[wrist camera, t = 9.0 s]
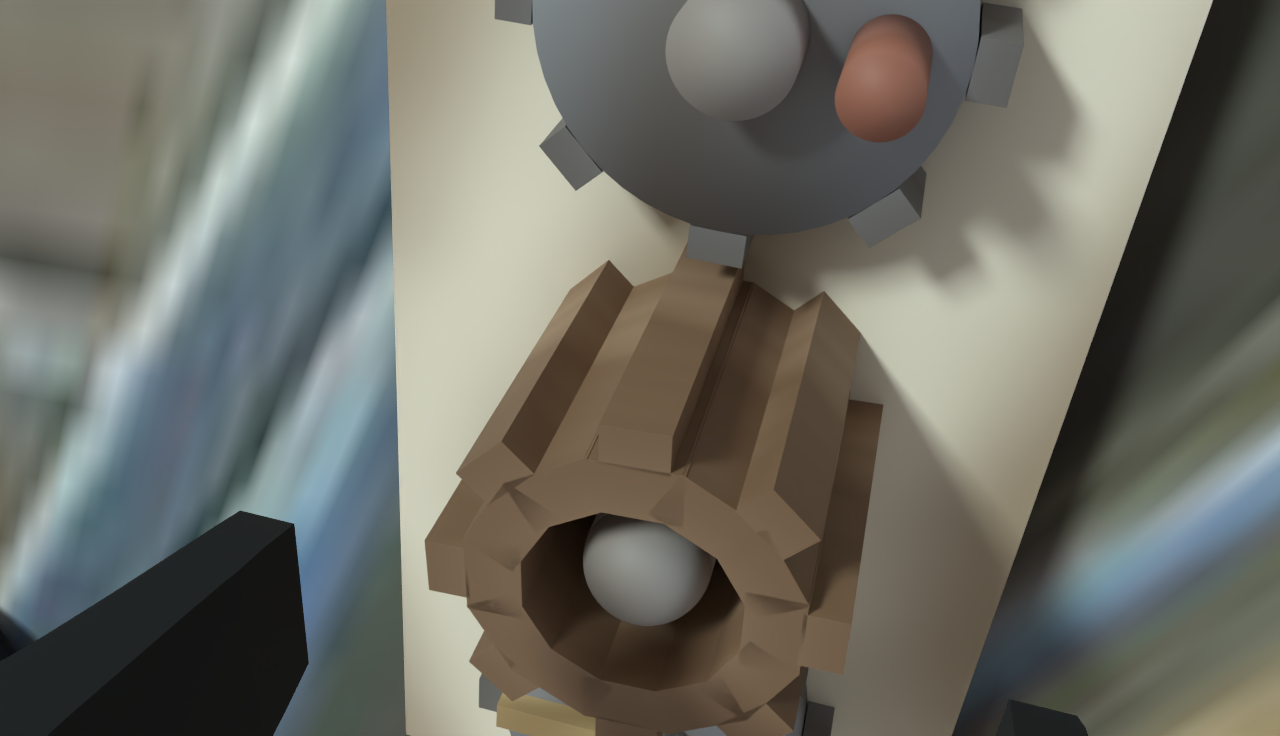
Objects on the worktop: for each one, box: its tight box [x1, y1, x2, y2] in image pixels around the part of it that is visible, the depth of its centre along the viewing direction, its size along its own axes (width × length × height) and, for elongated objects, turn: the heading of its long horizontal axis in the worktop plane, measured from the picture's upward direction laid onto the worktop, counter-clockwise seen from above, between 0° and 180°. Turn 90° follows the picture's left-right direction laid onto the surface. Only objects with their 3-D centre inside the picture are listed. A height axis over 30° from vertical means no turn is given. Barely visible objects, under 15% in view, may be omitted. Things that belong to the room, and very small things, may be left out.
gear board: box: [386, 0, 1213, 736], centre depth 18 cm, size 11×21×6 cm, turn 173°
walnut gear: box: [425, 242, 883, 736], centre depth 18 cm, size 6×6×5 cm
